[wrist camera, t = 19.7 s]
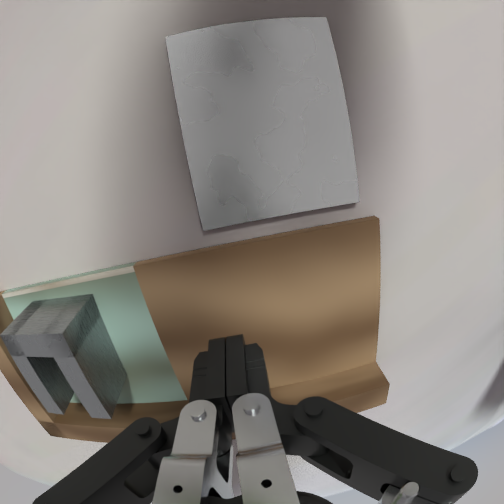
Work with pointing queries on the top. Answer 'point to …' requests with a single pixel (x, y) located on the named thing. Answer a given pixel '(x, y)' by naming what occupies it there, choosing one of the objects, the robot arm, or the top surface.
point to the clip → (67, 354)
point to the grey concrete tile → (263, 119)
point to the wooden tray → (228, 322)
